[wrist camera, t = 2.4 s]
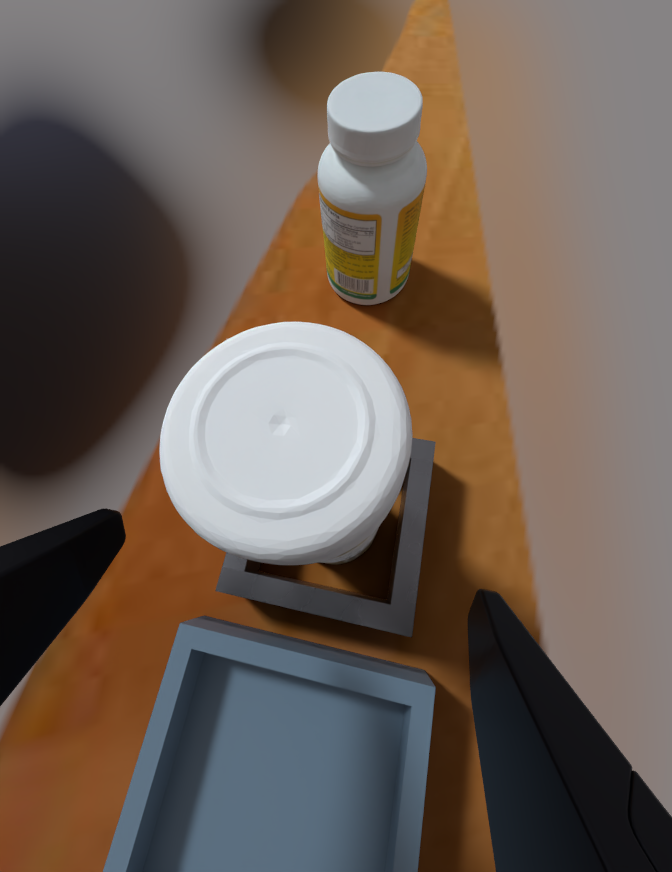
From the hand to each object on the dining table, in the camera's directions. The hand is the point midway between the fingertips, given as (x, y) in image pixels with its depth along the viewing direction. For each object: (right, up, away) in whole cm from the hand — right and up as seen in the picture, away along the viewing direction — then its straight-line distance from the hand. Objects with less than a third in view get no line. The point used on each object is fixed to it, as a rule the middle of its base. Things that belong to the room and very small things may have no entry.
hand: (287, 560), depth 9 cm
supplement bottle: (+3, +14, +15) cm, 21 cm away
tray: (-1, -11, +6) cm, 13 cm away
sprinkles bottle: (+1, -1, +10) cm, 10 cm away
